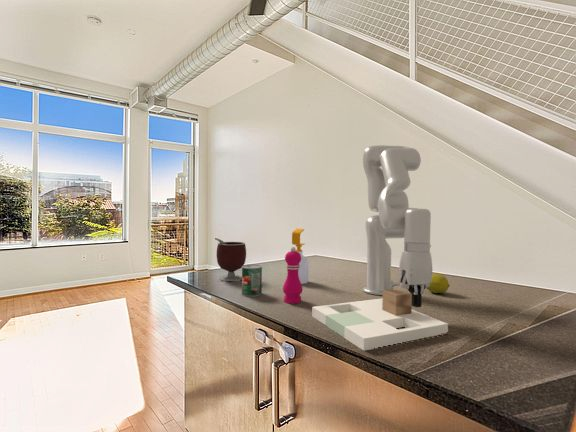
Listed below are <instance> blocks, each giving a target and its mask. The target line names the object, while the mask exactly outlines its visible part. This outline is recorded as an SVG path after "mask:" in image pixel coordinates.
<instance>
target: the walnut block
mask: <svg viewBox="0 0 576 432" xmlns="http://www.w3.org/2000/svg"><path fill="white" fill-rule="evenodd" d="M382 298H383V300H382V310H384V311H386V312H388V313H391V314H393V315H395V316H398V315H404V314H411V312H412V310H413V308H412V307H413V306H412V293H409V292H408V291H405V290H402V289H400V288H393V290H384V291H383V295H382Z"/></svg>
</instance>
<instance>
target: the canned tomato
mask: <svg viewBox="0 0 576 432" xmlns="http://www.w3.org/2000/svg"><path fill="white" fill-rule="evenodd" d="M241 276H242V281H241V295H242V296H243V297H249V296H250V297H259V296H261V295H263V292H262V290H263V285H262V283H263V282H262V281H263V279H262V278H263V277H262V276H263V266H262V265H259V264H244V265H243V266H242V268H241Z"/></svg>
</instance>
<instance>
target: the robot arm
mask: <svg viewBox="0 0 576 432" xmlns="http://www.w3.org/2000/svg"><path fill="white" fill-rule="evenodd" d="M421 162H422V160H421V155H420V153H419V151H418V150H417V149H416V148H412V147H410V146H403V145H385V144H384V145H383V144H382V145H381V144H380V145H379V144H378V145H370V146H368V147H366V148H365V150H364V151H363V154H362V164H363V170H364V173H365V176H366V180H367V201H368V208H369V210H370V211H371V212H375V213H378V214H376V215H375V214H374V215H371V216H369V217H367V219H366V220H365V232H366V240H367V241H366V242H367V243H366V244H367V260H366V265H367V267H366V285H364V286H363V288H362V291H363V292H364V293H366V294H370V295H376V296H383V291H384V290H393V289H394V287H400V284H401V289H405V290H407V292H409V293H412V307H414V308H422V299H423V298H422V295H423V294H424V291H425V289H427V288H426V287H428V286H430V282H431V281H432V274H433V260H432V253H431V246H432V245H431V219H432V214H431V211H430V209H427V208H419V207H418V208H417V207H410V206H409V205H410V204H409V197H408V195H407V193H406V192H405V190H407V189H408V188H409V187H410V185H411V177H410V174H409V172H413V171H414V172H415V171H417V170H418V169H420V165H421ZM387 239H388V240H389V239H403V240H404V242H403V244H404V245H403V251H402V252H401V254H400V259H399V260H400V261H399V268H398V280H397V281H394V280H391V279H392V248H391V246H390V245H389V243H388V241H387Z"/></svg>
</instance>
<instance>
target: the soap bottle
mask: <svg viewBox="0 0 576 432" xmlns="http://www.w3.org/2000/svg"><path fill="white" fill-rule="evenodd" d="M304 231H305V228H296V229H294V230H293V231H292V233H291V243H292V245H295V248H296V250H295V251H296V252H298V253H300V255H301V261H300V263H299V265H300V269H299V270H298V276H299V279H300V282H301V284H302V285H306V284H308V283H309V262H310V261H309V259H308V258H307V257H306V256H304V255H303V249H301V248H302V247H303V246H304V245H305V243H301V233H303V232H304Z"/></svg>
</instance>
